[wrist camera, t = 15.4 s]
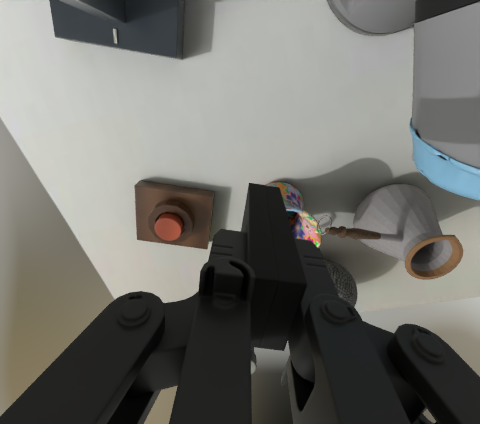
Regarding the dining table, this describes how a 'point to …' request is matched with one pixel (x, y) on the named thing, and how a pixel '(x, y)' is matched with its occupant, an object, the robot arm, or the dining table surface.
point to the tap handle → (101, 8)
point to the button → (169, 226)
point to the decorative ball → (343, 282)
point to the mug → (298, 214)
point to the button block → (174, 212)
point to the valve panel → (126, 27)
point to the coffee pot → (404, 230)
